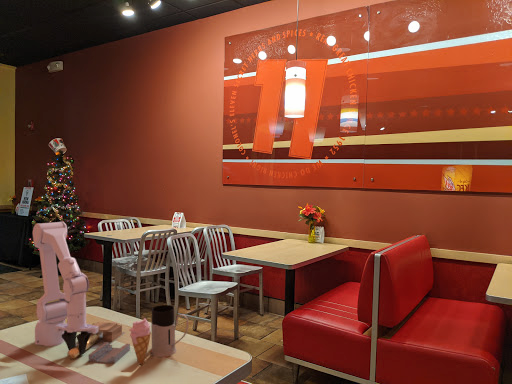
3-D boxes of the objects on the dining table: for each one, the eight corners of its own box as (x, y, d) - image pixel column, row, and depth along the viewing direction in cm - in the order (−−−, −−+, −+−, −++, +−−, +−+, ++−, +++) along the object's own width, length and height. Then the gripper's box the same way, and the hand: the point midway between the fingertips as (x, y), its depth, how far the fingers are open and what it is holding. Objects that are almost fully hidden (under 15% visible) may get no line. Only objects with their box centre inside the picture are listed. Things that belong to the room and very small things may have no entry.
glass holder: (160, 344, 140) (159, 303, 140) (194, 350, 135) (194, 307, 135) (145, 354, 132) (144, 310, 132) (181, 361, 127) (180, 315, 127)
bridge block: (71, 349, 136) (71, 334, 136) (96, 333, 151) (96, 319, 151) (103, 351, 135) (103, 336, 134) (125, 335, 149) (124, 321, 149)
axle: (67, 359, 127) (67, 350, 127) (92, 341, 141) (91, 333, 141) (75, 359, 127) (75, 350, 126) (99, 342, 140) (99, 333, 140)
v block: (88, 364, 125) (88, 354, 125) (105, 351, 135) (105, 342, 135) (114, 366, 124) (114, 356, 124) (129, 353, 133) (129, 343, 133)
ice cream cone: (144, 370, 121) (143, 322, 121) (126, 368, 122) (125, 321, 122) (154, 361, 127) (153, 315, 127) (136, 359, 129) (136, 314, 128)
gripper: (48, 315, 127) (49, 357, 127) (89, 318, 124) (90, 360, 125) (62, 308, 134) (63, 348, 134) (101, 310, 131) (102, 350, 132)
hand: (77, 353), depth 130 cm, fingers closed on axle, 3 cm apart
